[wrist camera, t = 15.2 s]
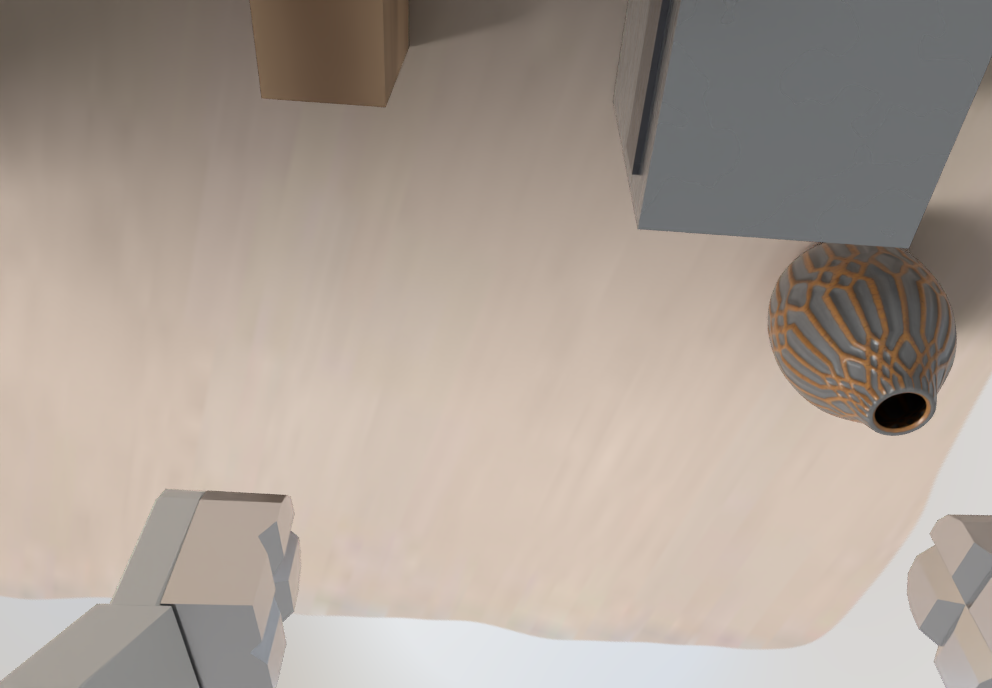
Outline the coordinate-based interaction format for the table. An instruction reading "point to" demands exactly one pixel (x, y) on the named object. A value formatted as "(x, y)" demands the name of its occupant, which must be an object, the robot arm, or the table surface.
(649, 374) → the table surface
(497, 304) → the table surface
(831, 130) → the block
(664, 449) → the table surface
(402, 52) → the walnut block
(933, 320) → the vase
